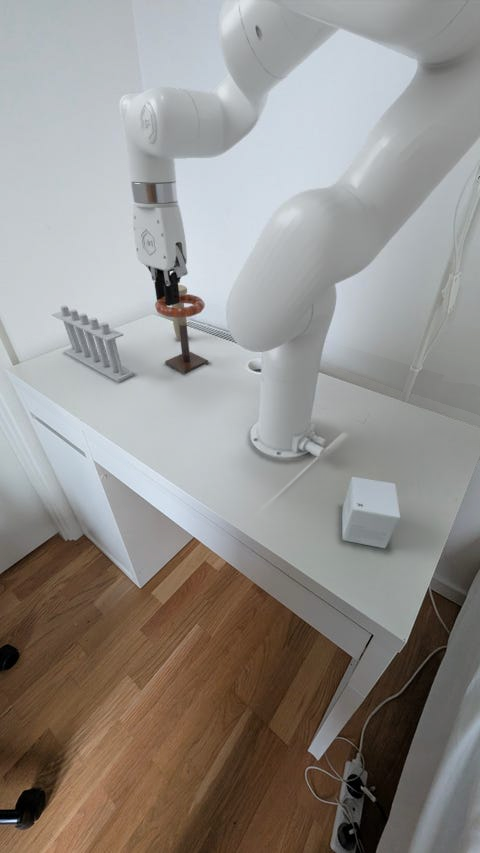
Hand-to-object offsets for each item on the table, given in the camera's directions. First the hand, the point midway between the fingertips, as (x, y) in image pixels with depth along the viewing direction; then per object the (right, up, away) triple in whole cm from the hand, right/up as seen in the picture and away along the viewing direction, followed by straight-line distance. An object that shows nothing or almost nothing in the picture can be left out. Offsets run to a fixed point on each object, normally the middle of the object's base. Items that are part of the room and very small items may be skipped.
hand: (168, 301), depth 70 cm
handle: (-3, 0, +32) cm, 32 cm away
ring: (+3, -2, -2) cm, 4 cm away
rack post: (+1, -9, +20) cm, 22 cm away
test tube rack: (-23, -9, +20) cm, 32 cm away
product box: (+33, -41, -19) cm, 56 cm away
